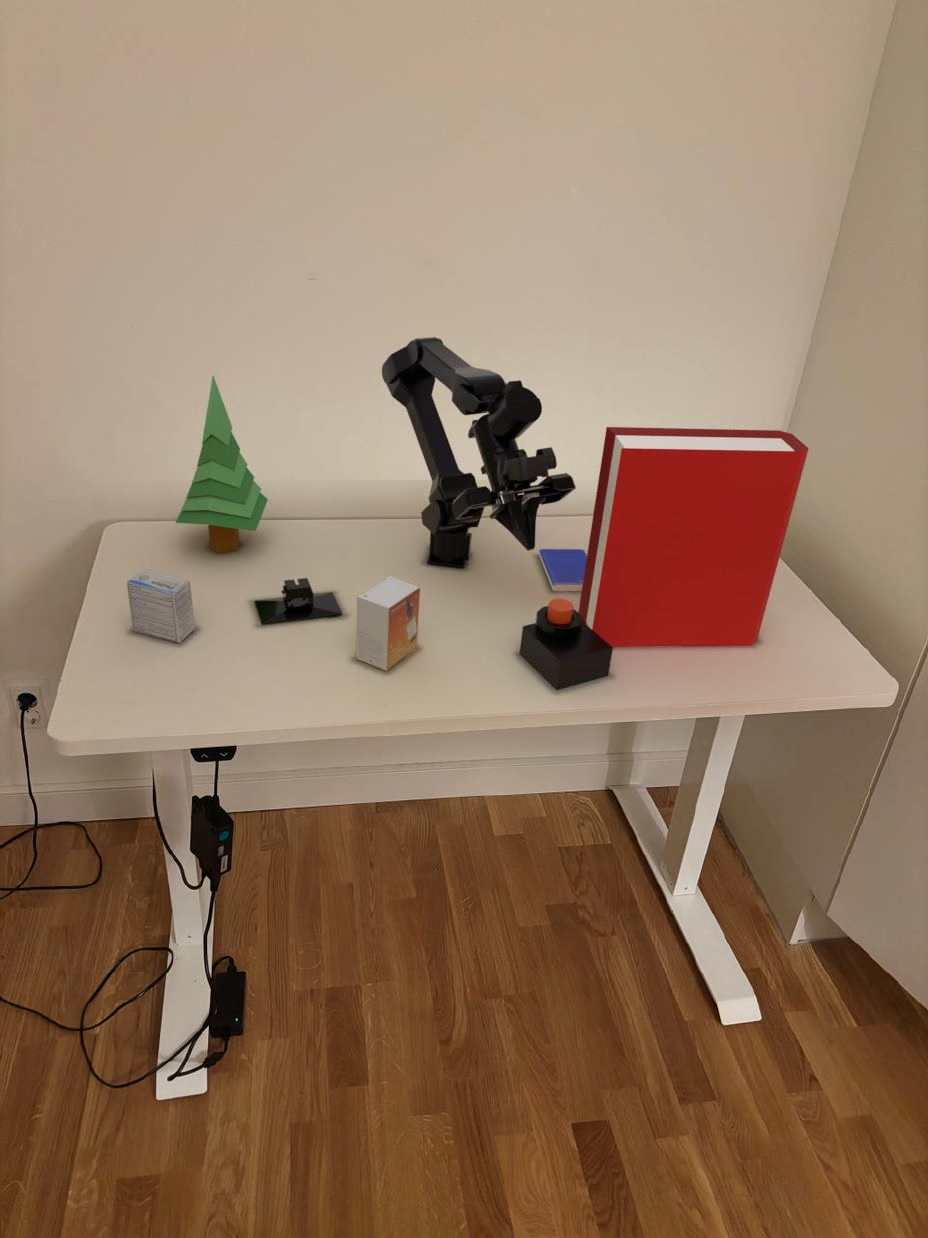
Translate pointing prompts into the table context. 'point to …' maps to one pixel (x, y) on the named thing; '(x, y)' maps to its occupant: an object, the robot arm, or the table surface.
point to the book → (688, 534)
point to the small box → (387, 622)
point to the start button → (560, 611)
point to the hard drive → (564, 568)
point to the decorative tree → (222, 483)
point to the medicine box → (161, 605)
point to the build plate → (297, 604)
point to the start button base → (565, 651)
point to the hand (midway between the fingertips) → (531, 549)
